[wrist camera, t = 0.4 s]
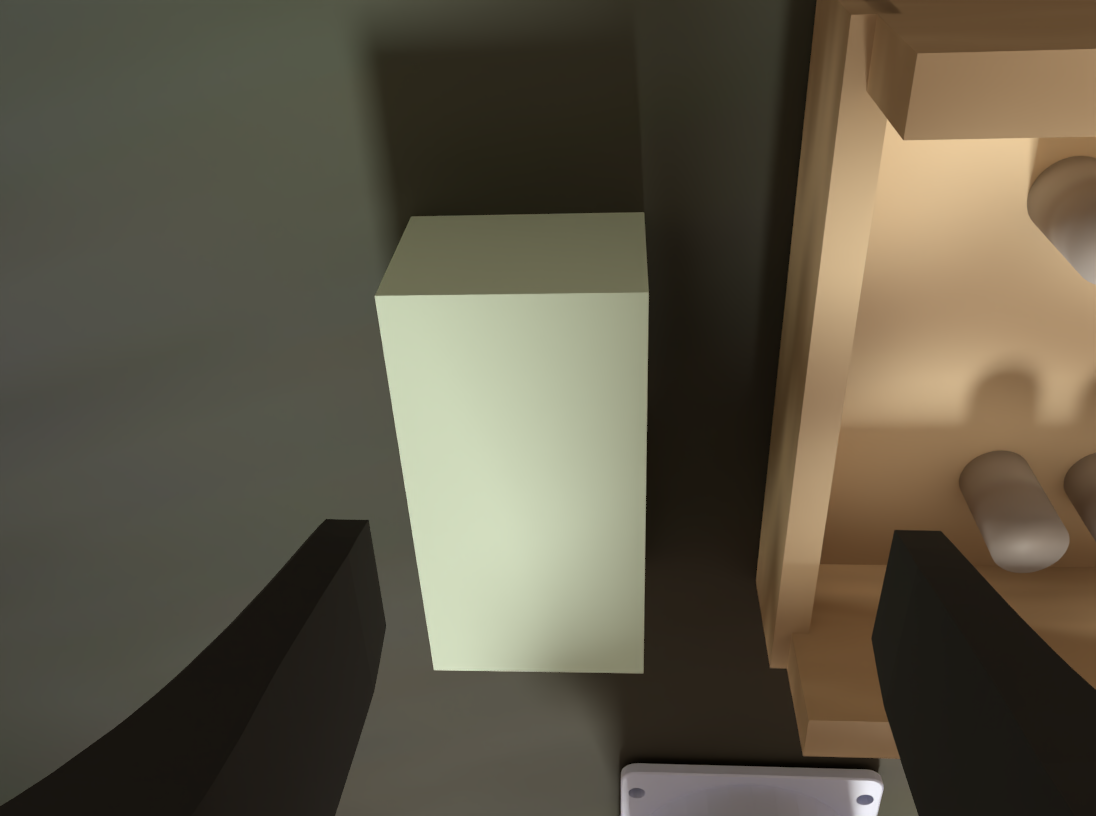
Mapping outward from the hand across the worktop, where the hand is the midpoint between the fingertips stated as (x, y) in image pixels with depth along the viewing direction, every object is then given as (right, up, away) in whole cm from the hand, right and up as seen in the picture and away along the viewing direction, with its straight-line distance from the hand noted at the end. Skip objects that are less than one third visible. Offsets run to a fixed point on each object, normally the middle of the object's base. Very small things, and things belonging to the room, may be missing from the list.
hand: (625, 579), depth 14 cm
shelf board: (-1, +3, +10) cm, 11 cm away
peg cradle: (+11, +4, +8) cm, 14 cm away
